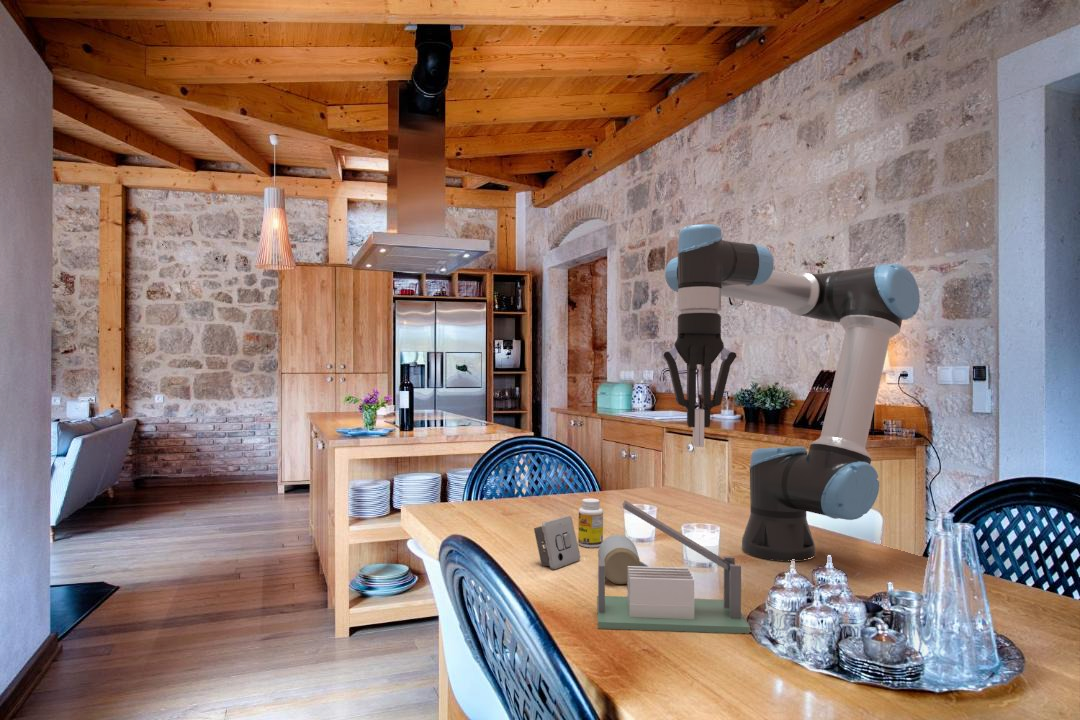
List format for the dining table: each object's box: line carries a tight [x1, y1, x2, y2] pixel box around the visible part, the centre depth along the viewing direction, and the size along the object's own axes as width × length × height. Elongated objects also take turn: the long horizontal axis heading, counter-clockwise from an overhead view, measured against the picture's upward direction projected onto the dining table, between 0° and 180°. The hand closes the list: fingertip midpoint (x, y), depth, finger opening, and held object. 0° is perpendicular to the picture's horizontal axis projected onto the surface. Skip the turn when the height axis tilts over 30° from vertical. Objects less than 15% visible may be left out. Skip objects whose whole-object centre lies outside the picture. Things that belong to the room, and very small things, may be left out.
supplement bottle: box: [577, 497, 604, 549], centre depth 152 cm, size 6×6×10 cm
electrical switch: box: [533, 515, 581, 570], centre depth 138 cm, size 9×5×9 cm, turn 141°
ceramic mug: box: [597, 534, 650, 585], centre depth 128 cm, size 11×8×8 cm
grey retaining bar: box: [621, 500, 736, 574], centre depth 109 cm, size 21×3×2 cm
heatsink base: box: [596, 556, 751, 635], centre depth 109 cm, size 23×12×9 cm, turn 86°
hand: (698, 445), depth 119 cm, fingers closed
